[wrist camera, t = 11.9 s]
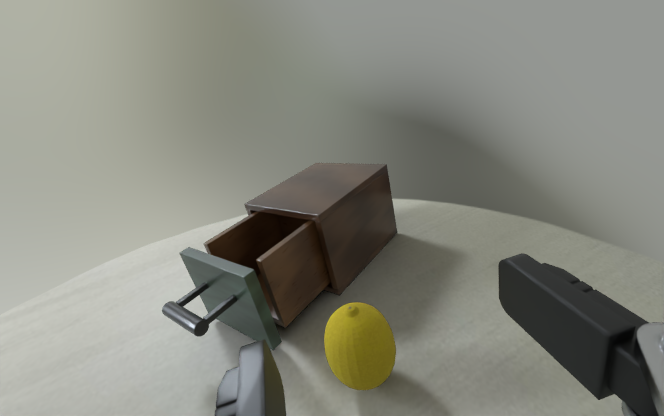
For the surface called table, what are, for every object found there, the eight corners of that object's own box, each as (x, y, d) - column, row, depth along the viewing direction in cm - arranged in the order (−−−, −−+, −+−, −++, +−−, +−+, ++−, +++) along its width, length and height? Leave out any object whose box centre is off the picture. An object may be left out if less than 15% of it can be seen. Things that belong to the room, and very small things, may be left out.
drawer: (234, 390, 29) (196, 314, 25) (172, 343, 36) (135, 278, 32) (351, 270, 41) (336, 206, 37) (287, 252, 48) (269, 198, 44)
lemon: (355, 345, 31) (338, 278, 28) (411, 365, 28) (399, 292, 25) (323, 395, 27) (299, 323, 24) (384, 425, 24) (365, 347, 21)
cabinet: (339, 295, 38) (318, 215, 34) (268, 271, 46) (244, 203, 42) (397, 232, 48) (386, 164, 44) (330, 221, 56) (316, 162, 52)
